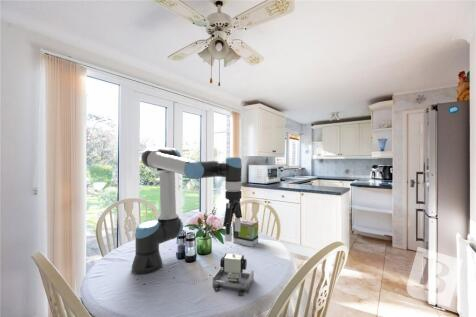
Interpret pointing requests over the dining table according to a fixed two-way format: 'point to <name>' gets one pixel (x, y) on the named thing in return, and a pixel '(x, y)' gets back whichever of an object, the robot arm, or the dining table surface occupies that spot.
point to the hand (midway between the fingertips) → (233, 235)
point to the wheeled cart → (241, 285)
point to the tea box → (246, 233)
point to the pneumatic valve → (233, 265)
